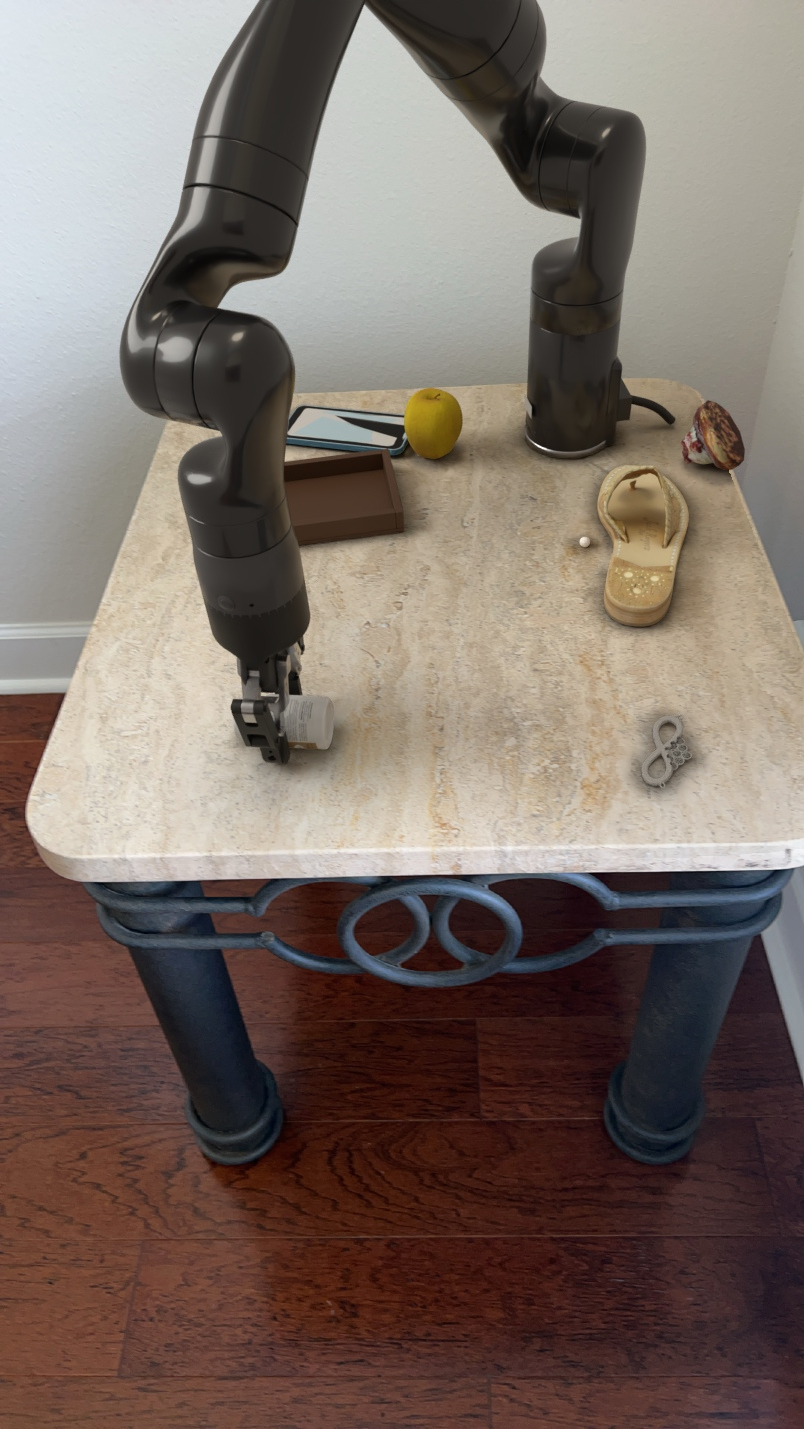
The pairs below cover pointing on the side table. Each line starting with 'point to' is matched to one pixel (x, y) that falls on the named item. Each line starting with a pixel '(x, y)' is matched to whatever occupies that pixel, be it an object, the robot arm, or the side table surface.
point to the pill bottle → (306, 721)
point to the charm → (666, 751)
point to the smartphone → (347, 429)
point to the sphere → (585, 542)
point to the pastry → (713, 438)
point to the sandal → (641, 542)
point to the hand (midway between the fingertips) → (284, 732)
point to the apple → (432, 422)
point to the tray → (343, 497)
